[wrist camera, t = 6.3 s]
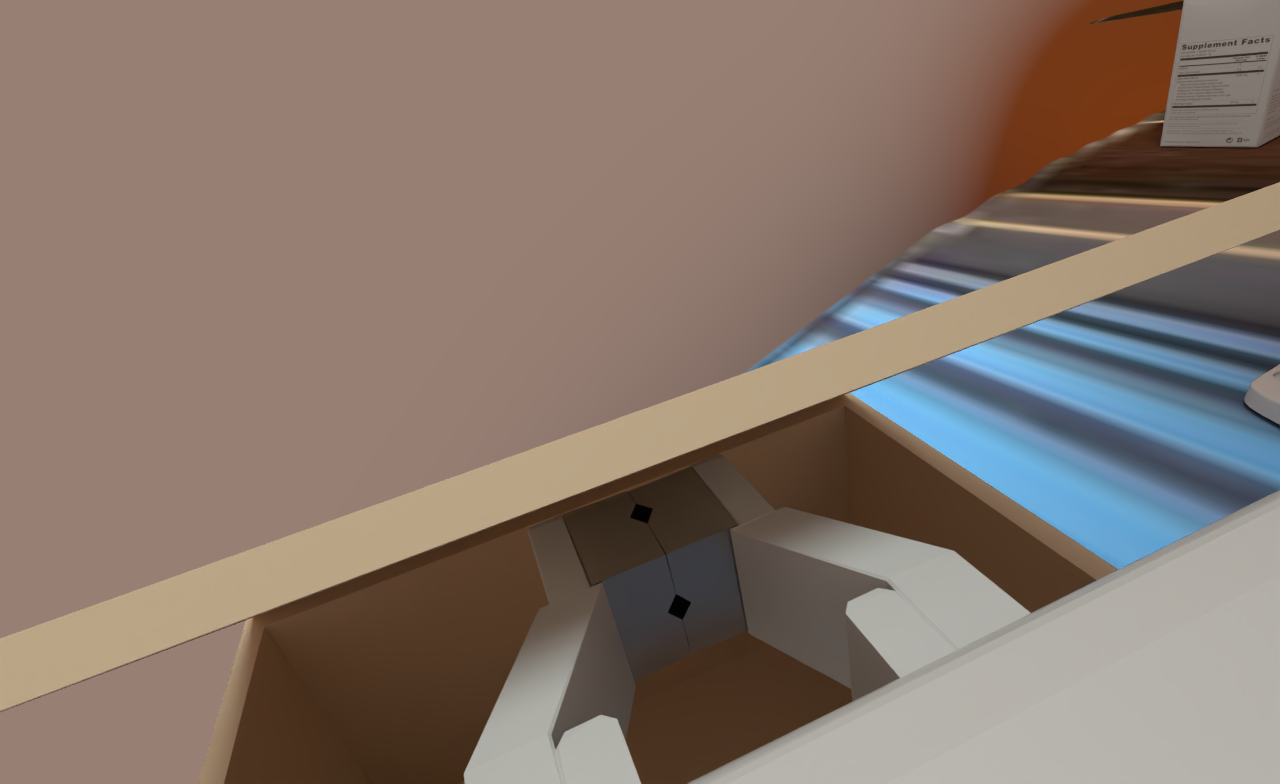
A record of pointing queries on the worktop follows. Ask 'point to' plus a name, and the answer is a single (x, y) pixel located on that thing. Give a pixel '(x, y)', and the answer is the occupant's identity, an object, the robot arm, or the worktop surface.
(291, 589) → the carton flap
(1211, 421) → the worktop surface
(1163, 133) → the supplement box
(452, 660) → the carton
